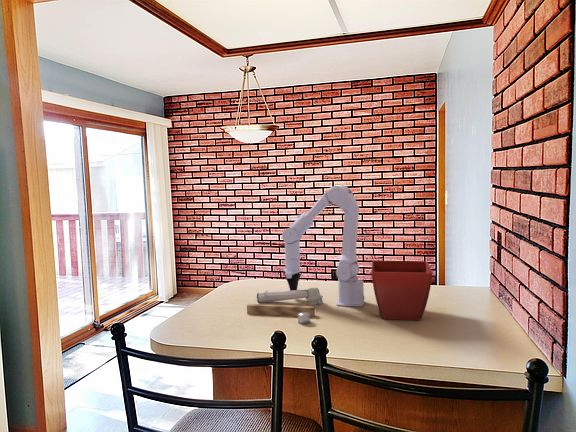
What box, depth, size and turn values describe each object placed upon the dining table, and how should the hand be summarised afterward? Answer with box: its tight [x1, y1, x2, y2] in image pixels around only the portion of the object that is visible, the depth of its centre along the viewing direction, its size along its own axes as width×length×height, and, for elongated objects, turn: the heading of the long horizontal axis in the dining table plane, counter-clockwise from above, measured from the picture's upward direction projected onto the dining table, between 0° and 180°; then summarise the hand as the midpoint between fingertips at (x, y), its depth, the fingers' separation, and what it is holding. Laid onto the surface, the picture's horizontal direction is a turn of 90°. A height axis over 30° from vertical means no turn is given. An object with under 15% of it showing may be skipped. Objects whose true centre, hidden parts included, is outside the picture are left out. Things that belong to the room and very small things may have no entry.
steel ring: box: [297, 312, 311, 325], centre depth 150 cm, size 4×4×3 cm
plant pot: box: [370, 260, 434, 321], centre depth 155 cm, size 19×19×17 cm
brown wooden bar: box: [246, 303, 316, 317], centre depth 160 cm, size 24×2×3 cm, turn 76°
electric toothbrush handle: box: [256, 287, 324, 306], centre depth 174 cm, size 5×7×25 cm
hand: (293, 292), depth 180 cm, fingers closed
